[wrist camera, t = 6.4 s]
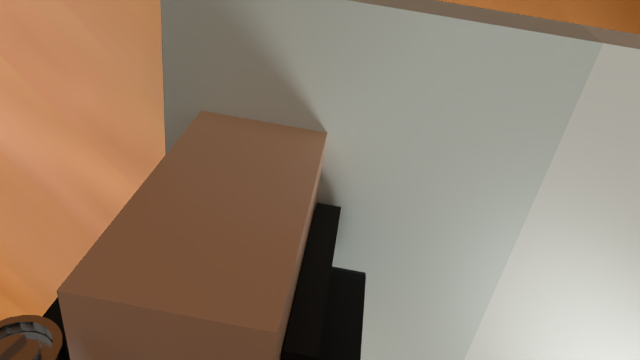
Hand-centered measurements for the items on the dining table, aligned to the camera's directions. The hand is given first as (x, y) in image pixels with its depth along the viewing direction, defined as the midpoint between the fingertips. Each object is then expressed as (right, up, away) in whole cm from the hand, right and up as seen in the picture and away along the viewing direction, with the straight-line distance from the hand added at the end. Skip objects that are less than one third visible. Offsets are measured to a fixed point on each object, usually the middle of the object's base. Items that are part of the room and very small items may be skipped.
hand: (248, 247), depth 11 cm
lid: (+6, 0, +1) cm, 6 cm away
